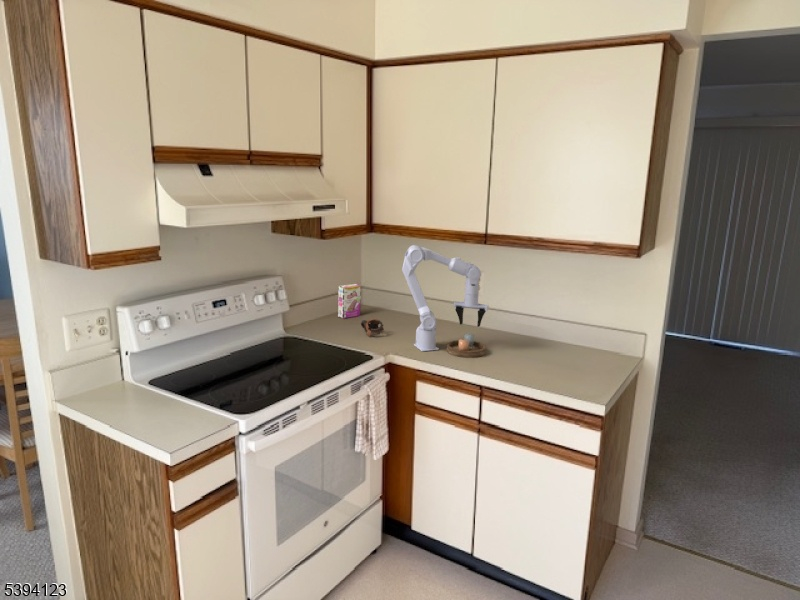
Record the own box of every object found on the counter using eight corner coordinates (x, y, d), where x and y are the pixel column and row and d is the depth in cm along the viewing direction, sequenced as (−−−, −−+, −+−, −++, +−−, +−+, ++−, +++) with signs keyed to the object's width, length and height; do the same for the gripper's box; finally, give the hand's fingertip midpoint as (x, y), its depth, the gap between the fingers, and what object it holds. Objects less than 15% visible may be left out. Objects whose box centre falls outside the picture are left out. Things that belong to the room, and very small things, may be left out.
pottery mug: (387, 333, 255) (387, 321, 249) (377, 346, 248) (377, 334, 243) (365, 324, 258) (365, 311, 253) (354, 336, 252) (354, 324, 246)
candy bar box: (343, 319, 276) (343, 287, 272) (337, 317, 279) (337, 285, 276) (361, 316, 283) (361, 285, 279) (355, 314, 286) (355, 283, 283)
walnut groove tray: (440, 347, 234) (440, 341, 233) (473, 344, 240) (473, 338, 239) (457, 359, 219) (457, 353, 219) (492, 355, 225) (492, 349, 224)
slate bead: (466, 344, 236) (467, 332, 235) (474, 345, 234) (475, 334, 233) (462, 346, 233) (463, 335, 231) (471, 348, 231) (471, 336, 229)
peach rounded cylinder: (457, 352, 224) (457, 341, 223) (459, 350, 228) (460, 338, 227) (466, 354, 223) (467, 342, 222) (469, 351, 226) (469, 339, 225)
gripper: (490, 293, 229) (488, 324, 232) (457, 290, 234) (456, 320, 237) (487, 296, 223) (485, 328, 226) (452, 293, 228) (451, 324, 231)
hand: (469, 325), depth 231 cm, fingers open, 7 cm apart
